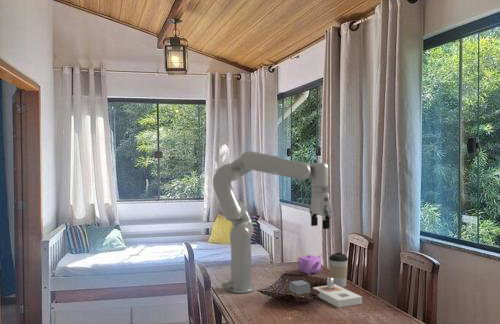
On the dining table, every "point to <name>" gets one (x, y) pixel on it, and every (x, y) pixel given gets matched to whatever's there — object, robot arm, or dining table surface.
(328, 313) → the dining table surface
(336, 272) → the coffee cup
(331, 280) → the pin
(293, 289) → the cover
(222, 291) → the dining table surface
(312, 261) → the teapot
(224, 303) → the dining table surface
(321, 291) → the board
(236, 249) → the robot arm
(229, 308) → the dining table surface
